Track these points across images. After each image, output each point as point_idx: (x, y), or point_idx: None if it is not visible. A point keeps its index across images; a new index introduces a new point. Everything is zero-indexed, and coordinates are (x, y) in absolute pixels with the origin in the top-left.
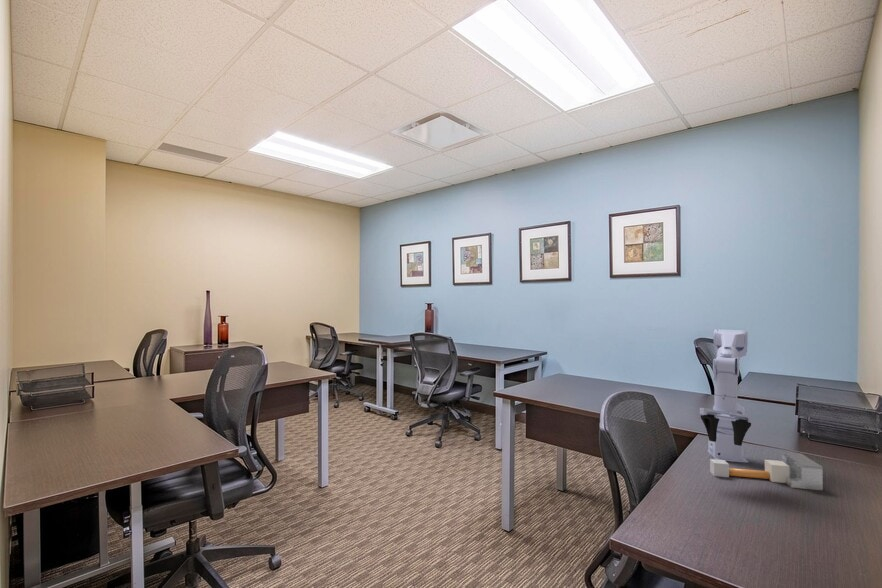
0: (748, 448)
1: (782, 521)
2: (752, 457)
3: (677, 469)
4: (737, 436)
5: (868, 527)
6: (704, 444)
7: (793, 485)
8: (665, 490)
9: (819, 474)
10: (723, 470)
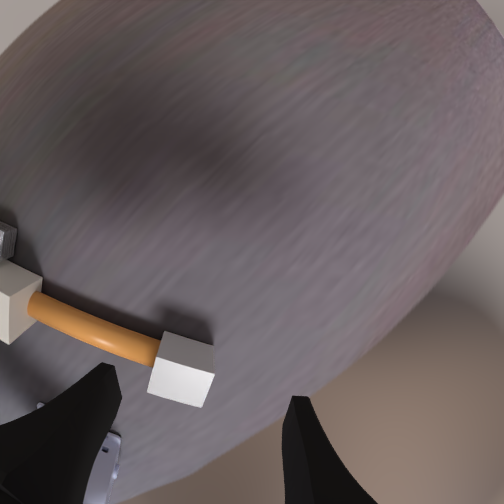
0: None
1: (245, 29)
2: None
3: None
4: (91, 424)
5: (50, 14)
6: None
7: (9, 227)
8: (438, 259)
9: None
10: (180, 348)
